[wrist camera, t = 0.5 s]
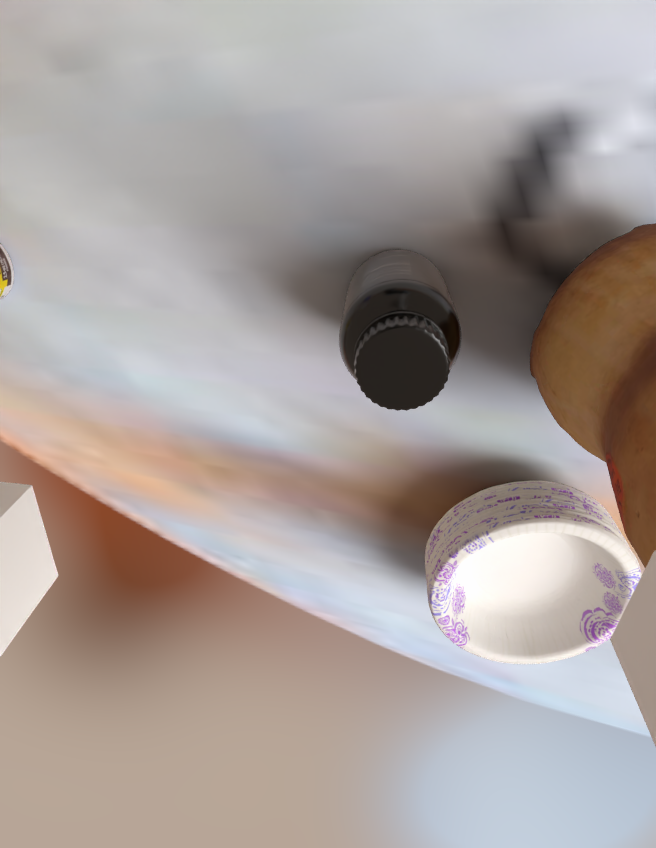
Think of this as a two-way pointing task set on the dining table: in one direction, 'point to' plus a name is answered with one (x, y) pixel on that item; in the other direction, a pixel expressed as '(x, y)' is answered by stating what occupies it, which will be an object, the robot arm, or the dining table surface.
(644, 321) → the butternut squash
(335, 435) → the dining table surface
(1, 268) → the supplement bottle
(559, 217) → the dining table surface
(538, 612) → the paper bowls
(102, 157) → the dining table surface
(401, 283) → the supplement bottle
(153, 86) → the dining table surface
